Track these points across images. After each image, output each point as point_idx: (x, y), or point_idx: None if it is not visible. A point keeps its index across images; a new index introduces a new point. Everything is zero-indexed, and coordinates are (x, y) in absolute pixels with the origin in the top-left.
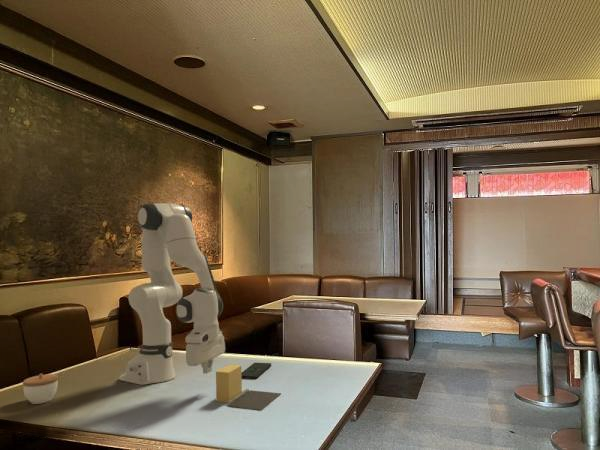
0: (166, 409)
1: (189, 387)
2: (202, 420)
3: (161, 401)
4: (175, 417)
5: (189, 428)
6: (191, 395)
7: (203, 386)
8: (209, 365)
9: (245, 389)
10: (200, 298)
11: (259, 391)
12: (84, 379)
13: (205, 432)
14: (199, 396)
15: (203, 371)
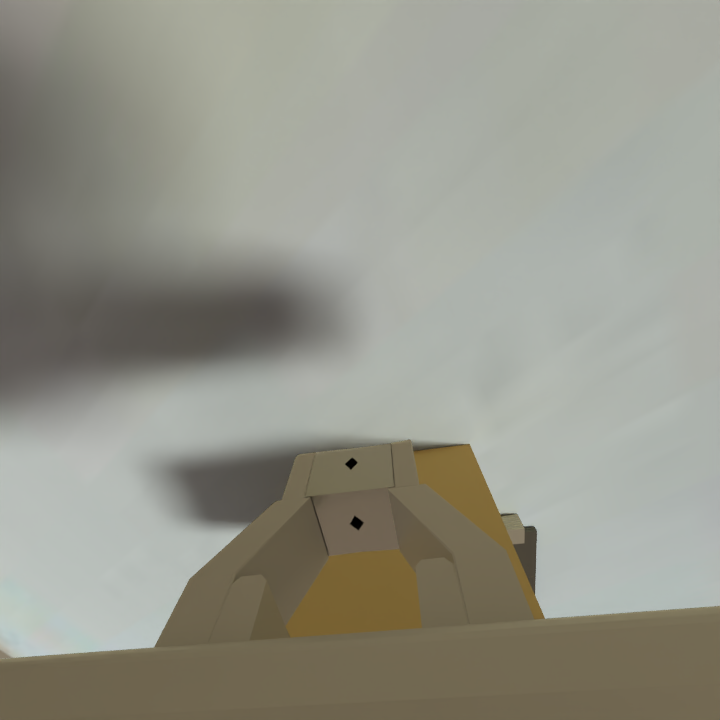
0: (9, 296)
1: (471, 12)
2: (94, 550)
3: (45, 101)
4: (6, 434)
5: (9, 555)
6: (299, 240)
7: (545, 150)
8: (407, 545)
9: (513, 529)
10: None
11: (531, 573)
12: None
13: (44, 611)
14: (315, 317)
15: (296, 469)
